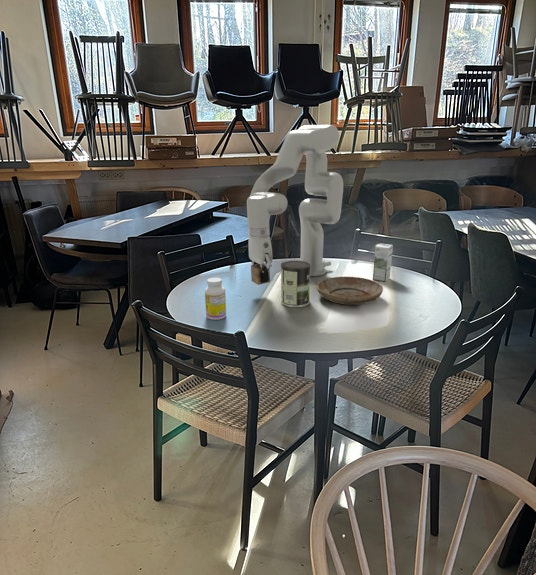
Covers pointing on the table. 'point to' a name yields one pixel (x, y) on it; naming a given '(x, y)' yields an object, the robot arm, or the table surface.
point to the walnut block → (257, 274)
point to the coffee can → (295, 283)
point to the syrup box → (382, 262)
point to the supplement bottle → (215, 299)
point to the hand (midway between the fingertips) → (260, 279)
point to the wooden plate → (349, 290)
